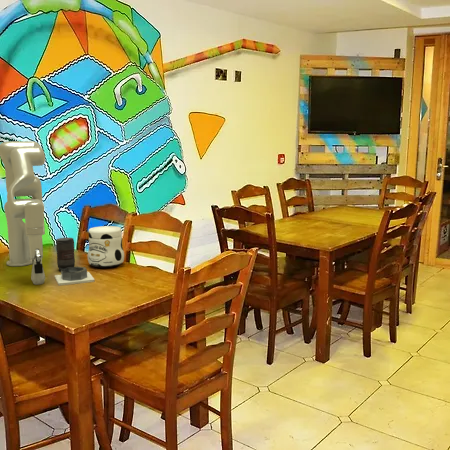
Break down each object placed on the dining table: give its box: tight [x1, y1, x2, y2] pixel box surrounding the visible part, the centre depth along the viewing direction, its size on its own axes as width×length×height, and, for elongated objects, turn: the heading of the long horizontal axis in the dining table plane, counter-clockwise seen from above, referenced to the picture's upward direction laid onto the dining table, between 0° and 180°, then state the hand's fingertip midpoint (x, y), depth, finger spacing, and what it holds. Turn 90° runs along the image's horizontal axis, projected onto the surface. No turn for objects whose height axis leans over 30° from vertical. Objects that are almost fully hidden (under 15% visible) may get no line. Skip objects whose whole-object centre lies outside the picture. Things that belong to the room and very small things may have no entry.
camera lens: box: [55, 237, 76, 273], centre depth 256 cm, size 8×8×15 cm
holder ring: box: [60, 266, 88, 281], centre depth 241 cm, size 10×10×4 cm
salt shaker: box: [30, 258, 46, 286], centre depth 234 cm, size 6×6×13 cm
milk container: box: [87, 225, 125, 269], centre depth 265 cm, size 17×17×18 cm
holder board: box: [54, 271, 95, 286], centre depth 241 cm, size 14×15×1 cm
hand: (37, 270), depth 234 cm, fingers open, 9 cm apart
